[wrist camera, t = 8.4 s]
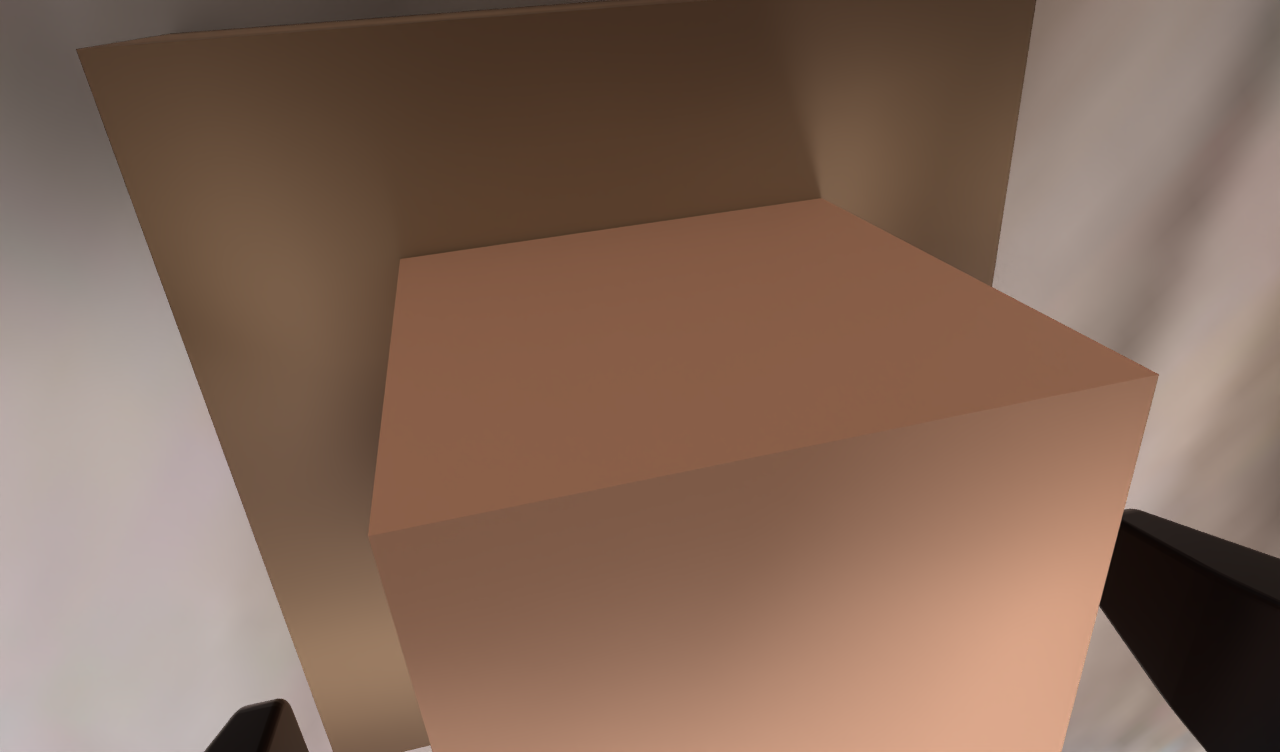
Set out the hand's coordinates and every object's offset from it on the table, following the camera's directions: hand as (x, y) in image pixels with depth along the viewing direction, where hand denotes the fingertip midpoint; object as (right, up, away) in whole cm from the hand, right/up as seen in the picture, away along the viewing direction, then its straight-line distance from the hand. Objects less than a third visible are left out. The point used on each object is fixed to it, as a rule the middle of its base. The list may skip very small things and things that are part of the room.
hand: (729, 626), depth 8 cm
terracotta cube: (-1, +2, +4) cm, 4 cm away
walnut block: (-2, +4, +7) cm, 9 cm away
